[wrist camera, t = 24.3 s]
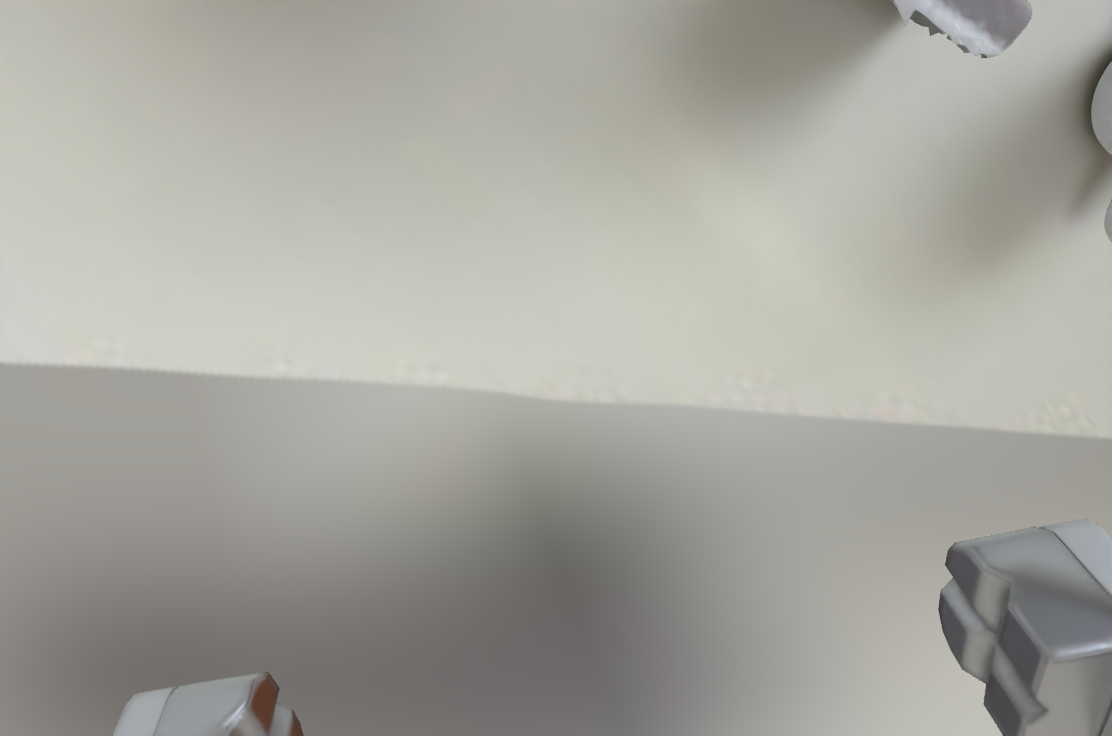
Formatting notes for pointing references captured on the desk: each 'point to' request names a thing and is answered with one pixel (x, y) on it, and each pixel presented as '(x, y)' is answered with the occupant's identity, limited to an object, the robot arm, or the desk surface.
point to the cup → (1104, 125)
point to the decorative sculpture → (970, 21)
